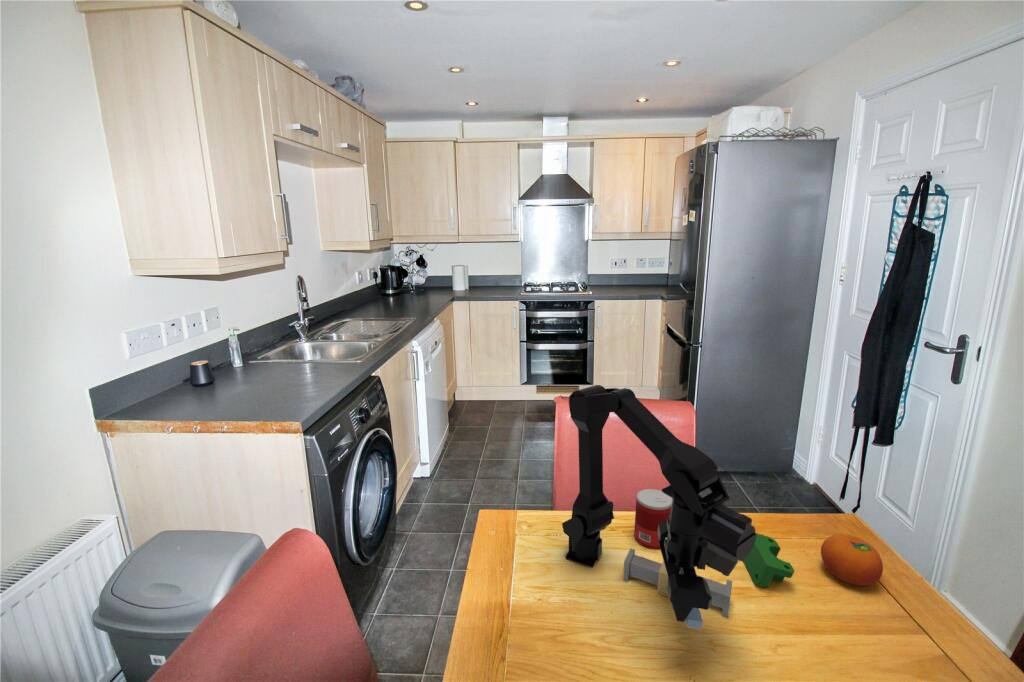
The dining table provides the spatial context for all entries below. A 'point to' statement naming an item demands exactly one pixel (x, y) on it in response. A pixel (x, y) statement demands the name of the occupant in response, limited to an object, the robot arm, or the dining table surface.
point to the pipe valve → (659, 576)
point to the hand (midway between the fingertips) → (676, 600)
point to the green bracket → (767, 562)
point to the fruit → (851, 559)
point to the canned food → (651, 516)
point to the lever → (694, 618)
